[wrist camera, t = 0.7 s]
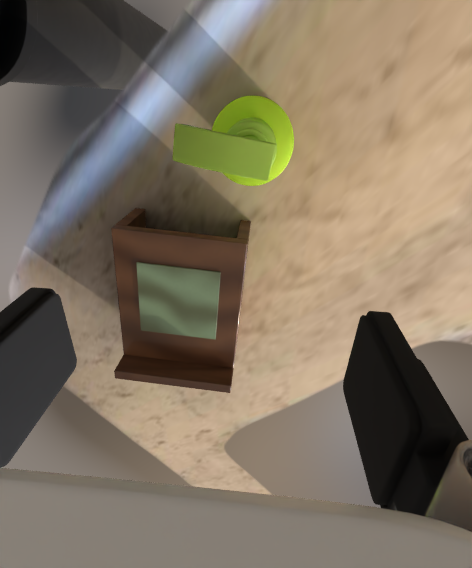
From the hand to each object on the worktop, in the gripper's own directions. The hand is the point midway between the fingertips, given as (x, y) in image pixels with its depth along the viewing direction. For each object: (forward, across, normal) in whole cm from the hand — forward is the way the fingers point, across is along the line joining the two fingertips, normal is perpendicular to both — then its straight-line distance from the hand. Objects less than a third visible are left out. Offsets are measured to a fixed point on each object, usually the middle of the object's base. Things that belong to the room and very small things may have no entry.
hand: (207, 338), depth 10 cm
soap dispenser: (+30, 0, -4) cm, 31 cm away
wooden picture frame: (+30, +7, +15) cm, 34 cm away
